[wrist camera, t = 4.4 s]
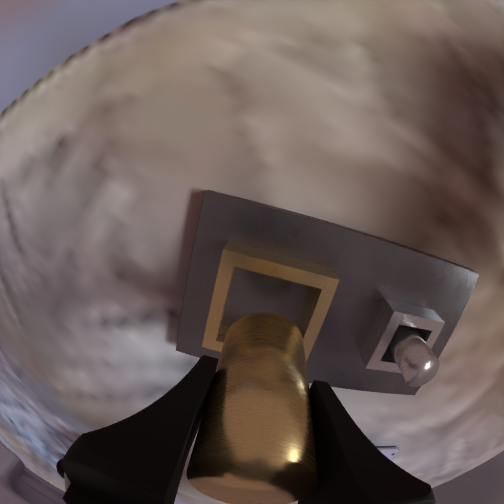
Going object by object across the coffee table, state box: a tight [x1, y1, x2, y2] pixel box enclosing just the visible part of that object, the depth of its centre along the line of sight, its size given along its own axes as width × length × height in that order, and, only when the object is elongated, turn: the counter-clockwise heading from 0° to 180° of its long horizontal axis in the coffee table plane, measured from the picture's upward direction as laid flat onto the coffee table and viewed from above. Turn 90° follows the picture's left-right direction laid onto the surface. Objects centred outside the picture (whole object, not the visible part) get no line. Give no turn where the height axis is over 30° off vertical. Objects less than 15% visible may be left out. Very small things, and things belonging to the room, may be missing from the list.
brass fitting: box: [186, 312, 318, 504], centre depth 11 cm, size 4×4×8 cm
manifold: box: [176, 190, 479, 395], centre depth 17 cm, size 12×21×6 cm, turn 76°
